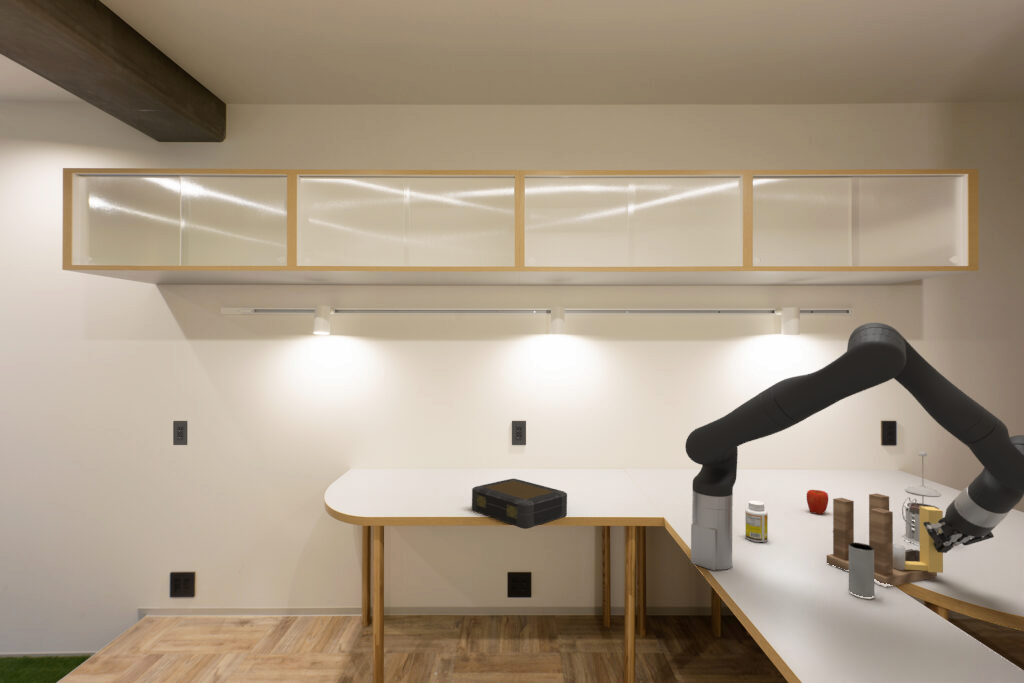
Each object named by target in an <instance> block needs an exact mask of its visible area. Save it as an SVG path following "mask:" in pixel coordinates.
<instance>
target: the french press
mask: <svg viewBox="0 0 1024 683" xmlns="http://www.w3.org/2000/svg"><path fill="white" fill-rule="evenodd" d="M918 456H920V457H921V458H922V462H921V465H922V466H921V467H922V468H921V473H922V475H921V476H922V478H921V479H922V480H921V481H922V485H913V486H909V487H907V488H905V489H904V491H905V492H906V493H907V494H910V495H913V496H917V497H918V496H919V497H922V503H921V502H920V503H919V502H917V499H916V498H913V499H912V500H911V497H910V496H908V497H906V498H905V499H904V501H903V503H902V507H901V515H902V519H903V520H904V522H905V534H903V535H902V536H903V538H904V539H905V540H908V541H910V542H913V543H916V544H919V545H920V520H919V506H923V507H935V508H937V509H940V508H939V507H937V506H935V505H931V504H926V503H924V497H927V498H938V497H939V498H940V497H941V496H942V493H941V492H939V491H938V490H936V489H935V488H932V487H928V486H925V485H924V457H928V454H927V452H926V451H919V452H918ZM907 500H909V502H907V503H906V501H907ZM904 504H907V506H908V507H909V508H906V512H905V515H904V508H905V507H904ZM912 514H913V515H914V516H915V517H913V516H912ZM912 519H914V520H915V522H914V521H912ZM919 545H918V546H919Z"/></svg>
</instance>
